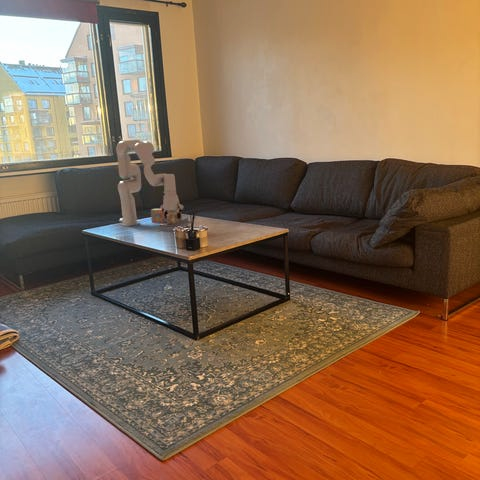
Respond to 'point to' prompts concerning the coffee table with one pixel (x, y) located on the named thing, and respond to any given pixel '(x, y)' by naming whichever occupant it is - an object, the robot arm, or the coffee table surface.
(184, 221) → the dock
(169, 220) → the pedestal
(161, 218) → the stack of blocks
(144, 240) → the coffee table surface
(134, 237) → the coffee table surface
